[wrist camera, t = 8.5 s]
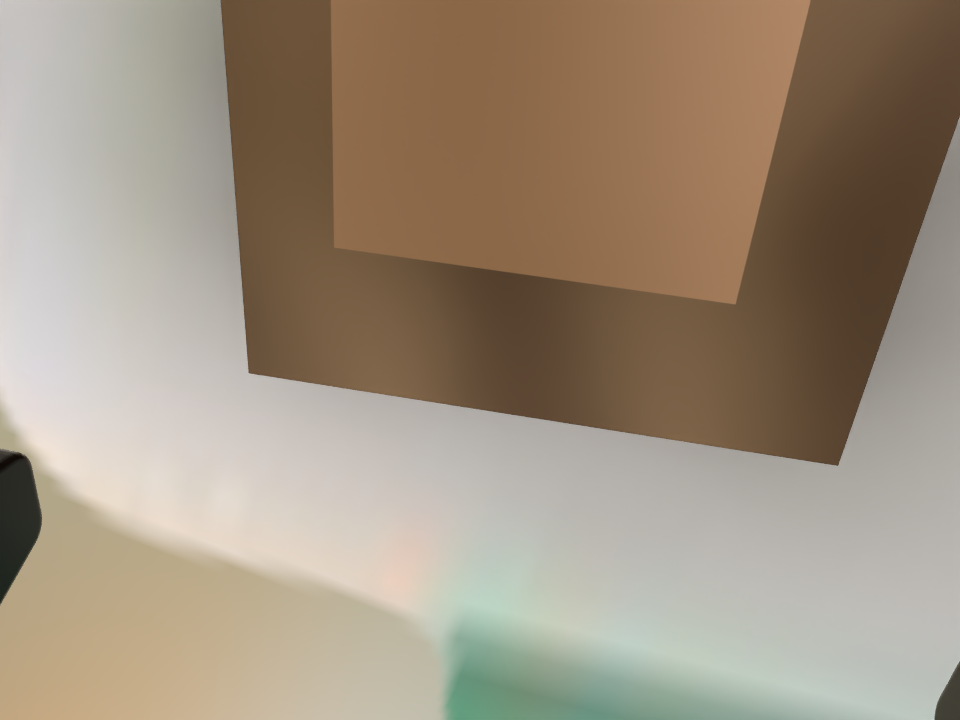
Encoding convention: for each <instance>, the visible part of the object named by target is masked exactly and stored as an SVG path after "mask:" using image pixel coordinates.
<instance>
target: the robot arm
mask: <svg viewBox="0 0 960 720" xmlns="http://www.w3.org/2000/svg"><path fill="white" fill-rule="evenodd" d="M41 525H42V514H41V508H40V503H39V499H38V494H37V489H36V484H35V479H34V475H33V470H32V466H31V463H30V461H29V459H28V458H27V457H26V456H25V455H23V454H21V453H19V452H14V451H9V450H4V449H0V604H1V603H2V601H3V599H4V597H5V596H6V594H7V592H8V590H9V589H10V587H11V585H12V583H13V582H14V580H15V578H16V576H17V575H18V573H19V571H20V569H21V567H22V566H23V564H24V562H25V560H26V559H27V557H28V555H29V553H30V552H31V550H32V548H33V546H34V545H35V543H36V541H37V538H38V536H39V533H40V530H41ZM935 720H960V662H959V664H958V665H957V667H956V669H955V671H954V673H953V674H952V676H951V678H950V680H949V682H948V684H947V685H946V687H945V689H944V691H943V693H942V694H941V696H940V698H939V701H938V703H937V707H936V711H935Z"/></svg>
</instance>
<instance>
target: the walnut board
mask: <svg viewBox="0 0 960 720" xmlns="http://www.w3.org/2000/svg"><path fill="white" fill-rule="evenodd" d="M221 10H222V23H223V36H224V50H225V63H226V76H227V90H228V103H229V116H230V129H231V143H232V156H233V169H234V183H235V196H236V209H237V223H238V236H239V249H240V263H241V276H242V289H243V303H244V316H245V329H246V343H247V356H248V369H249V373H251V374H257V375H264V376H270V377H277V378H283V379H289V380H296V381H302V382H308V383H315V384H321V385H327V386H334V387H340V388H347V389H353V390H359V391H366V392H372V393H378V394H385V395H391V396H398V397H404V398H410V399H417V400H423V401H429V402H436V403H442V404H448V405H455V406H461V407H468V408H474V409H480V410H487V411H493V412H499V413H506V414H512V415H518V416H525V417H531V418H538V419H544V420H550V421H557V422H563V423H569V424H576V425H582V426H589V427H595V428H601V429H608V430H614V431H620V432H627V433H633V434H639V435H646V436H652V437H659V438H665V439H671V440H678V441H684V442H690V443H697V444H703V445H709V446H716V447H722V448H729V449H735V450H741V451H748V452H754V453H760V454H767V455H773V456H780V457H786V458H792V459H799V460H805V461H811V462H818V463H824V464H830V465H837V466H838V464H839V461H840V458H841V456H842V453H843V450H844V447H845V444H846V441H847V438H848V435H849V433H850V430H851V427H852V424H853V421H854V418H855V415H856V412H857V410H858V407H859V404H860V401H861V398H862V395H863V392H864V389H865V387H866V384H867V381H868V378H869V375H870V372H871V369H872V366H873V364H874V361H875V358H876V355H877V352H878V349H879V346H880V343H881V341H882V338H883V335H884V332H885V329H886V326H887V323H888V320H889V318H890V315H891V312H892V309H893V306H894V303H895V300H896V297H897V295H898V292H899V289H900V286H901V283H902V280H903V277H904V274H905V271H906V269H907V266H908V263H909V260H910V257H911V254H912V251H913V248H914V246H915V243H916V240H917V237H918V234H919V231H920V228H921V225H922V223H923V220H924V217H925V214H926V211H927V208H928V205H929V202H930V200H931V197H932V194H933V191H934V188H935V185H936V182H937V179H938V177H939V174H940V171H941V168H942V165H943V162H944V159H945V156H946V154H947V151H948V148H949V145H950V142H951V139H952V136H953V133H954V131H955V128H956V125H957V122H958V119H959V116H960V0H811V1H810V5H809V9H808V13H807V17H806V21H805V25H804V29H803V34H802V38H801V42H800V46H799V50H798V54H797V58H796V62H795V66H794V70H793V74H792V78H791V82H790V86H789V90H788V94H787V98H786V102H785V106H784V110H783V114H782V118H781V123H780V127H779V131H778V135H777V139H776V143H775V147H774V151H773V155H772V159H771V163H770V167H769V171H768V175H767V179H766V183H765V187H764V191H763V195H762V199H761V203H760V207H759V211H758V216H757V220H756V224H755V228H754V232H753V236H752V240H751V244H750V248H749V252H748V256H747V260H746V264H745V268H744V272H743V276H742V280H741V284H740V288H739V292H738V296H737V300H736V304H729V303H722V302H715V301H708V300H701V299H694V298H686V297H679V296H672V295H665V294H658V293H651V292H644V291H637V290H630V289H623V288H616V287H609V286H602V285H595V284H588V283H580V282H573V281H566V280H559V279H552V278H545V277H538V276H531V275H524V274H517V273H510V272H503V271H496V270H489V269H482V268H474V267H467V266H460V265H453V264H446V263H439V262H432V261H425V260H418V259H411V258H404V257H397V256H390V255H383V254H376V253H369V252H361V251H354V250H347V249H340V248H334V206H333V131H332V56H331V0H221Z"/></svg>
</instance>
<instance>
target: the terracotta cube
mask: <svg viewBox="0 0 960 720" xmlns="http://www.w3.org/2000/svg"><path fill="white" fill-rule="evenodd" d="M810 1H811V0H331V56H332V131H333V206H334V248H340V249H347V250H354V251H361V252H369V253H376V254H383V255H390V256H397V257H404V258H411V259H418V260H425V261H432V262H439V263H446V264H453V265H460V266H467V267H474V268H482V269H489V270H496V271H503V272H510V273H517V274H524V275H531V276H538V277H545V278H552V279H559V280H566V281H573V282H580V283H588V284H595V285H602V286H609V287H616V288H623V289H630V290H637V291H644V292H651V293H658V294H665V295H672V296H679V297H686V298H694V299H701V300H708V301H715V302H722V303H729V304H736V300H737V296H738V292H739V288H740V284H741V280H742V276H743V272H744V268H745V264H746V260H747V256H748V252H749V248H750V244H751V240H752V236H753V232H754V228H755V224H756V220H757V216H758V211H759V207H760V203H761V199H762V195H763V191H764V187H765V183H766V179H767V175H768V171H769V167H770V163H771V159H772V155H773V151H774V147H775V143H776V139H777V135H778V131H779V127H780V123H781V118H782V114H783V110H784V106H785V102H786V98H787V94H788V90H789V86H790V82H791V78H792V74H793V70H794V66H795V62H796V58H797V54H798V50H799V46H800V42H801V38H802V34H803V29H804V25H805V21H806V17H807V13H808V9H809V5H810Z"/></svg>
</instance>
